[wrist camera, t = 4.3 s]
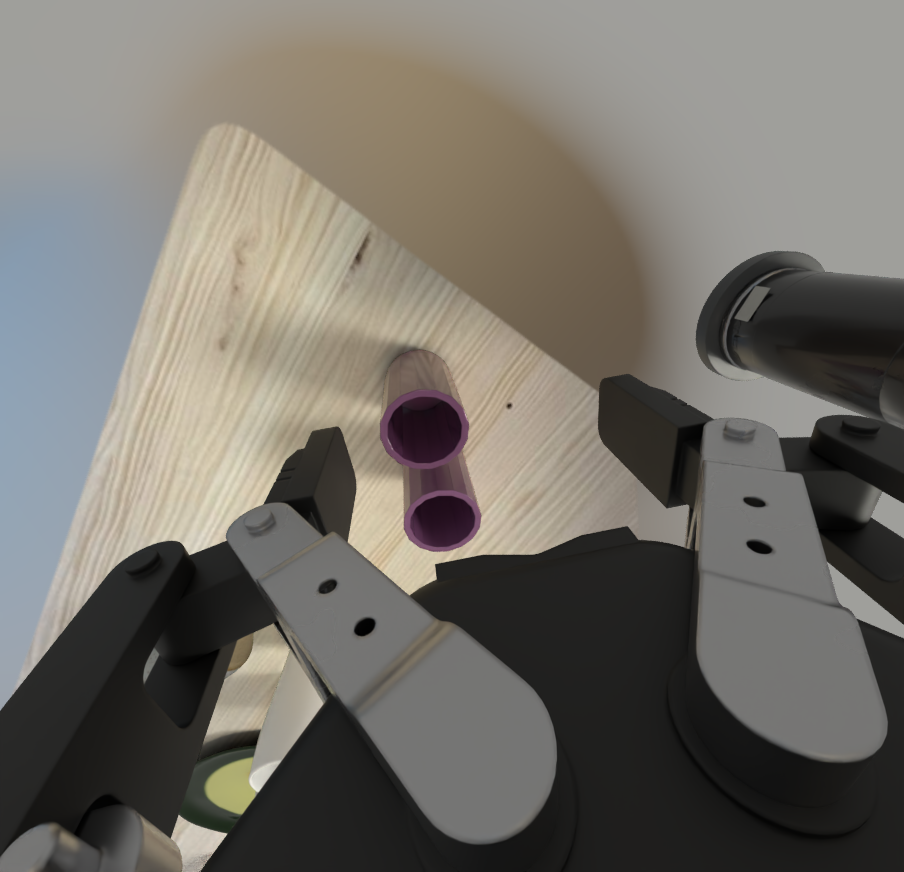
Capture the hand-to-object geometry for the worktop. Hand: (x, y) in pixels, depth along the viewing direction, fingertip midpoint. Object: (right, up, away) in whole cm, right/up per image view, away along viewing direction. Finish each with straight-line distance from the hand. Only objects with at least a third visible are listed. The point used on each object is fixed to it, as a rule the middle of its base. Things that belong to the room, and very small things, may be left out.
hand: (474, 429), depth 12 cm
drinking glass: (-17, -24, +37) cm, 47 cm away
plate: (-29, -55, +51) cm, 80 cm away
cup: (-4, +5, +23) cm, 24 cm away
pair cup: (-3, -2, +27) cm, 27 cm away
